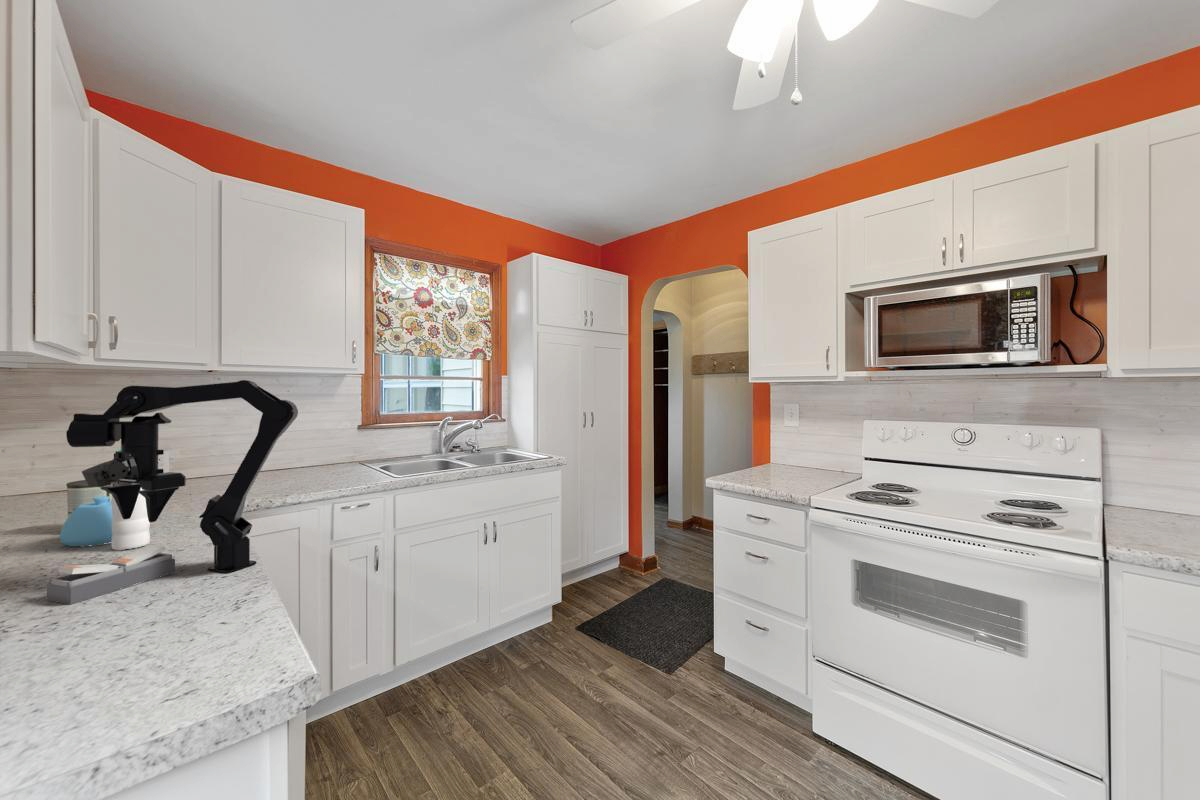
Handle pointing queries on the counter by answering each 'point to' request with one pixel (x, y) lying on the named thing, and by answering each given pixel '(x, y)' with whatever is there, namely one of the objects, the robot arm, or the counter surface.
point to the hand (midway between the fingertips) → (139, 520)
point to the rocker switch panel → (107, 579)
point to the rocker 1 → (87, 568)
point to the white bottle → (130, 526)
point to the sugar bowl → (89, 524)
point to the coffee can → (82, 494)
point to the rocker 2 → (139, 555)
